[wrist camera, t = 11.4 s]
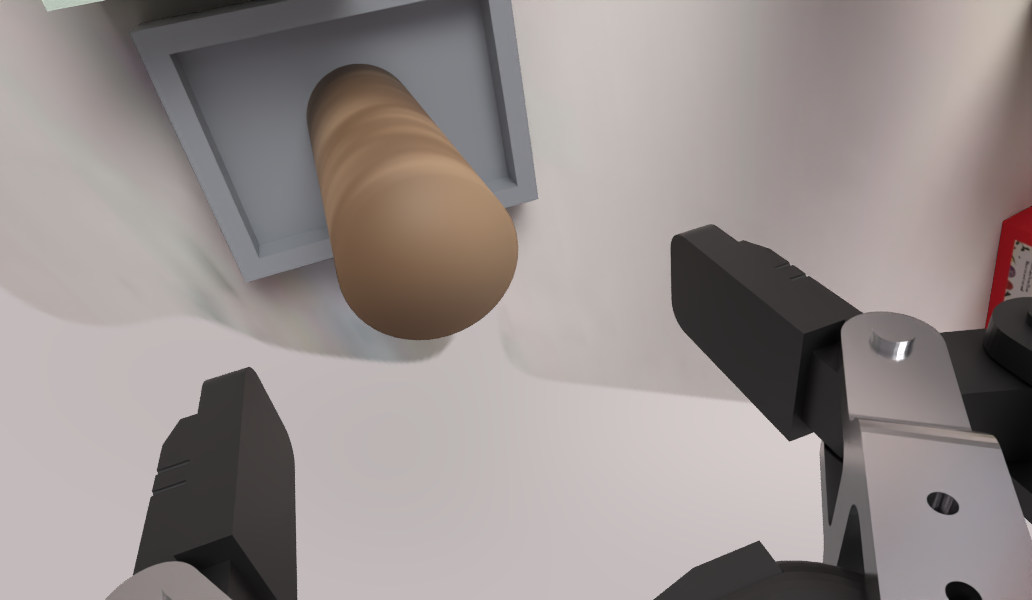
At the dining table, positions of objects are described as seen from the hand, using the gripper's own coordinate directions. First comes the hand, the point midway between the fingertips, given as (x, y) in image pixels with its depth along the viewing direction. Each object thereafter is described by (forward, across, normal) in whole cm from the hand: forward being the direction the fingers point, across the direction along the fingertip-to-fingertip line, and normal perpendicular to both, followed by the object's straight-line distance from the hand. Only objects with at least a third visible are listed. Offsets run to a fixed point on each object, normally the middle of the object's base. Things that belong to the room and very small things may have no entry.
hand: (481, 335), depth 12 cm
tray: (+15, +1, 0) cm, 16 cm away
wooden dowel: (+15, +1, 0) cm, 15 cm away
